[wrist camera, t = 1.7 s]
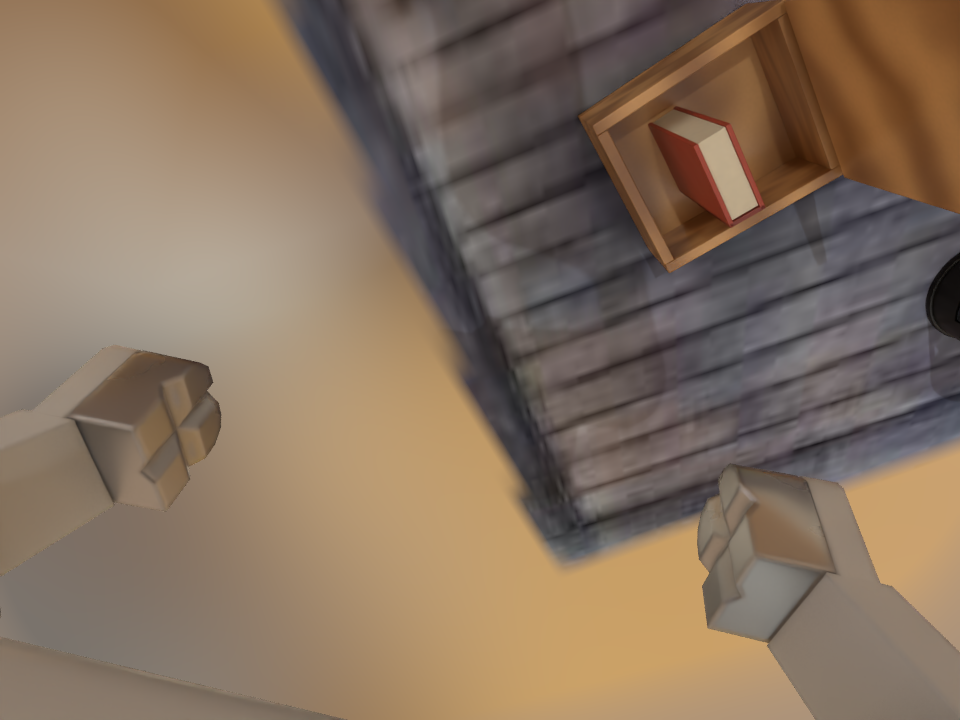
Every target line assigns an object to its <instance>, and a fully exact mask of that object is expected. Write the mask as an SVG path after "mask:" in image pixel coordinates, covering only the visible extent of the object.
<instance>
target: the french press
mask: <svg viewBox="0 0 960 720" xmlns="http://www.w3.org/2000/svg"><path fill="white" fill-rule="evenodd" d="M959 307H960V253H959V254H958V255H957V256H955V257H954V258H953V259H951V260H950V261H949V262H948V263H947V264H946V265H945V266H944V267H943V268H942V270H941V271H940V272H939V274H938V275H937V276H936V278H935V279H934V281H933V283H932V285H931V287H930V290H929V293H928V296H927V303H926V309H927V315H928V317H929V320H930V322H931V323H932V325H933V326H934V327H935V328H936V329H937V330H938V331H940V332H941V333H943V334H944V335H947V336H950V337H953V338H956V339H958V340H959V341H960V322H959V321H958V320H957V315H958V310H959Z"/></svg>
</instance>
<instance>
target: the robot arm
mask: <svg viewBox="0 0 960 720" xmlns="http://www.w3.org/2000/svg"><path fill="white" fill-rule="evenodd" d="M212 383H213V380H212V377H211V374H210V370H209V367H208V366H206V365H204V364H202V363H199V362H194V361H190V360H185V359H181V358H176V357H171V356H167V355H162V354H158V353H153V352H148V351H141V350H136V349H132V348H127V347H122V346H118V345H112V346H109V347H105V348H103V349H102V350H101V351H99V352H98V353H97V354H96V355H95V356H94V357H92V358H91V359H90V360H89V361H88V362H87V363H86V364H85V365H83V366H82V367H81V368H80V369H79V370H78V371H77V372H75V373H74V374H73V375H72V376H71V377H70V378H68V379H67V380H66V381H65V382H64V383H63V384H62V385H61V386H59V387H58V388H57V389H56V390H55V391H54V392H53V393H52V394H50V395H49V396H48V397H47V398H46V399H45V400H43V401H42V402H41V403H40V404H39V405H38V406H37V407H36V408H34V409H33V410H32V411H29V410H24V409H21V410H19V411H16V412H13V413H10V414H8V415H5V416H3V417H0V577H1V576H2V575H4V574H5V573H7V572H9V571H10V570H12V569H14V568H15V567H17V566H18V565H20V564H21V563H23V562H25V561H26V560H28V559H29V558H31V557H33V556H34V555H36V554H37V553H39V552H41V551H42V550H44V549H46V548H47V547H49V546H50V545H52V544H54V543H55V542H57V541H58V540H60V539H62V538H63V537H65V536H66V535H68V534H69V533H71V532H73V531H74V530H76V529H77V528H79V527H81V526H82V525H84V524H85V523H87V522H89V521H90V520H92V519H93V518H95V517H96V516H98V515H100V514H101V513H103V512H105V511H106V510H108V509H109V508H111V507H113V506H114V503H113V502H116V503H120V504H126V505H131V506H137V507H142V508H147V509H153V510H158V511H164V512H166V511H167V510H168V509H169V507H170V506H171V505H172V503H173V502H174V500H175V499H176V498H177V496H178V495H179V494H180V492H181V491H182V490H183V488H184V487H185V486H186V484H187V483H188V481H189V480H190V475H189V466H191V465H193V464H195V463H197V462H199V461H201V460H203V459H205V458H206V457H207V455H208V454H209V452H210V451H211V449H212V448H213V446H214V445H215V443H216V440H217V437H218V434H219V431H220V428H221V412H220V407H219V403H218V402H217V401H216V400H215V399H214V398H213V397H212V396H211V395H210V394H209V393H208V391H207V390H208V389H209V387H210V386H211V385H212ZM718 485H719V491H720V493H719V494H717V495H715V496H713V497H711V498H709V499H708V500H707V502H706V504H705V506H704V508H703V511H702V513H701V517H700V522H699V526H698V540H697V545H698V555H699V560H700V561H701V562H702V564H703V565H704V566H705V568H706V569H707V570H708V571H709V575H708V577H707V579H706V581H705V582H704V584H703V586H702V588H703V596H704V604H705V611H706V619H707V626H708V628H709V629H713V630H717V631H721V632H725V633H730V634H734V635H738V636H742V637H746V638H750V639H754V640H758V641H763V642H767V643H769V644H768V645H767V646H768V648H769V649H770V651H771V652H772V654H773V655H774V657H775V658H776V660H777V661H778V663H779V665H780V666H781V667H782V669H783V671H784V672H785V674H786V675H787V677H788V678H789V680H790V681H791V683H792V684H793V686H794V688H795V689H796V691H797V692H798V694H799V695H800V697H801V698H802V700H803V701H804V703H805V704H806V706H807V707H808V709H809V710H810V712H811V713H812V715H813V717H814V718H815V719H816V720H960V652H959V651H958V650H957V649H956V648H955V647H954V646H953V645H952V644H951V643H950V642H949V641H948V640H947V639H946V638H945V637H944V636H943V635H941V634H940V632H939V631H937V630H936V629H935V628H934V627H933V626H932V625H931V624H930V623H929V622H928V621H927V620H926V619H925V618H924V617H923V616H922V615H921V614H920V613H919V612H918V611H917V610H916V609H915V608H914V607H913V606H912V605H911V604H910V603H909V602H908V601H907V600H906V599H905V598H904V597H903V596H902V595H901V594H900V593H899V592H897V591H896V590H895V589H894V588H893V587H892V586H889V585H885V584H881V583H880V581H879V579H878V576H877V573H876V571H875V568H874V566H873V564H872V560H871V558H870V556H869V553H868V550H867V548H866V545H865V542H864V540H863V537H862V535H861V532H860V530H859V527H858V524H857V522H856V519H855V517H854V514H853V512H852V509H851V506H850V504H849V502H848V499H847V497H846V494H845V491H844V489H843V488H842V487H841V486H840V485H839V484H838V483H836V482H831V481H825V480H820V479H814V478H809V477H803V476H800V477H798V476H796V475H791V474H786V473H780V472H775V471H769V470H764V469H758V468H753V467H747V466H742V465H736V464H731V463H730V464H729V465H728V466H726V467H725V468H724V469H723V471H722V473H721V475H720V477H719V479H718ZM0 618H1V608H0ZM0 720H345V719H341V718H337V717H333V716H329V715H325V714H321V713H316V712H312V711H308V710H304V709H300V708H296V707H291V706H287V705H283V704H279V703H275V702H271V701H267V700H262V699H258V698H254V697H250V696H245V695H242V694H237V693H233V692H229V691H224V690H221V689H217V688H212V687H208V686H204V685H200V684H196V683H191V682H187V681H183V680H179V679H175V678H170V677H166V676H162V675H158V674H154V673H150V672H146V671H141V670H137V669H133V668H128V667H125V666H121V665H116V664H112V663H108V662H104V661H100V660H95V659H91V658H87V657H83V656H79V655H75V654H70V653H66V652H62V651H58V650H54V649H50V648H45V647H41V646H37V645H33V644H29V643H24V642H20V641H16V640H12V639H8V638H3V637H0Z"/></svg>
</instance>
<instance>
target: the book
mask: <svg viewBox="0 0 960 720" xmlns="http://www.w3.org/2000/svg"><path fill="white" fill-rule="evenodd" d="M648 126H649V128H650V130H651V132H652V135H653V137H654V139H655V141H656V143H657V145H658V147H659V149H660V151H661V153H662V155H663V157H664V159H665V162H666V164H667V166H668V168H669V170H670V172H671V174H672V176H673V178H674V180H675V182H676V184H677V186H678V188H679V191H680V192H681V193H683V194H684V195H686V196H687V197H688V198H690V199H691V200H692V201H694V202H695V203H697V204H698V205H699V206H701V207H702V208H703V209H705V210H706V211H708V212H709V213H710V214H712V215H713V216H715V217H716V218H717V219H719V220H720V221H721V222H723V223H724V224H726V225H727V226H728V227H730V228H732V227H734V226H735V225H737V224H739V223H741V222H742V221H744V220H746V219H747V218H749V217H751V216H753V215H754V214H756V213H758V212H760V211H761V210H763V209H765V208H766V207H765V204H764V202H763V200H762V197H761V195H760V192H759V190H758V188H757V185H756V183H755V181H754V178H753V176H752V173H751V171H750V169H749V166H748V164H747V161H746V159H745V157H744V154H743V152H742V150H741V147H740V145H739V142H738V140H737V138H736V135H735V133H734V130H733V128H732V126H731V124H730V123H727V122H724V121H721V120H718V119H715V118H712V117H709V116H706V115H703V114H700V113H697V112H694V111H690V110H687V109H684V108H681V107H678V106H676V107H674V108H673V110H672V111H670V112H669V113H667V114H665V115H664V116H662V117H661V118H659V119H658V120H656V121H655V122H653V123H649V124H648Z"/></svg>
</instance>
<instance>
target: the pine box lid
mask: <svg viewBox="0 0 960 720" xmlns="http://www.w3.org/2000/svg"><path fill="white" fill-rule="evenodd" d="M784 5H785V8H786V11H787V14H788V17H789V19H790V22H791V25H792V28H793V31H794V34H795V37H796V40H797V42H798V45H799V48H800V51H801V54H802V57H803V60H804V63H805V65H806V68H807V71H808V74H809V77H810V80H811V83H812V86H813V89H814V91H815V94H816V97H817V100H818V103H819V106H820V109H821V112H822V114H823V117H824V120H825V123H826V126H827V129H828V132H829V135H830V137H831V140H832V143H833V146H834V149H835V152H836V155H837V158H838V161H839V163H840V166H841V169H842V172H843V175H844V177H845V178H848V179H851V180H854V181H857V182H860V183H864V184H867V185H870V186H873V187H876V188H879V189H883V190H886V191H889V192H892V193H895V194H898V195H901V196H905V197H908V198H911V199H914V200H917V201H920V202H924V203H927V204H930V205H933V206H936V207H939V208H943V209H946V210H949V211H952V212H955V213H958V214H960V0H786V1H784Z"/></svg>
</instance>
